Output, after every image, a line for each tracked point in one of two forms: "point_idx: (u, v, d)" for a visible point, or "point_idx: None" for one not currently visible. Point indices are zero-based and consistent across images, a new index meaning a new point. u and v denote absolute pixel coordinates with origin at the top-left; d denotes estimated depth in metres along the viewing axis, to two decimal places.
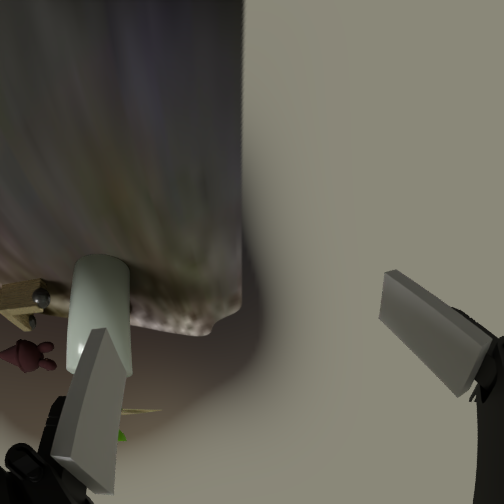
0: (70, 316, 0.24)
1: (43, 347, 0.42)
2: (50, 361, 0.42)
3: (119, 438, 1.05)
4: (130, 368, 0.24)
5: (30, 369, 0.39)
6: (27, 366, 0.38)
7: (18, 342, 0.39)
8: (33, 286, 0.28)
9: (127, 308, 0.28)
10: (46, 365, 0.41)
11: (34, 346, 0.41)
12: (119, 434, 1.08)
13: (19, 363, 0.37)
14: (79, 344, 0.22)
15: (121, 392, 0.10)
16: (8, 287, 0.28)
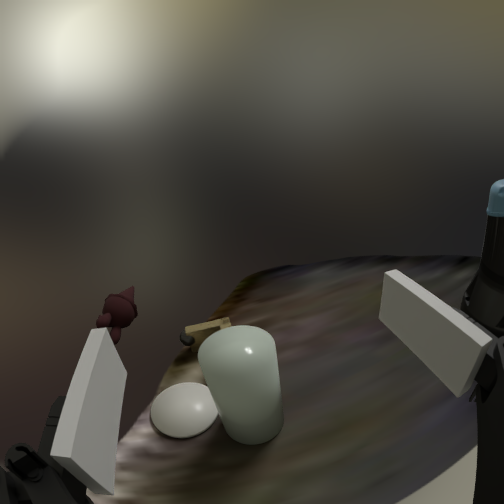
0: None
1: (118, 333, 0.46)
2: (106, 326, 0.44)
3: None
4: (243, 378, 0.22)
5: (112, 302, 0.47)
6: (117, 302, 0.47)
7: (135, 315, 0.51)
8: None
9: (256, 419, 0.24)
10: (107, 319, 0.44)
11: (123, 326, 0.48)
12: None
13: (125, 298, 0.49)
14: None
15: (121, 392, 0.10)
16: None
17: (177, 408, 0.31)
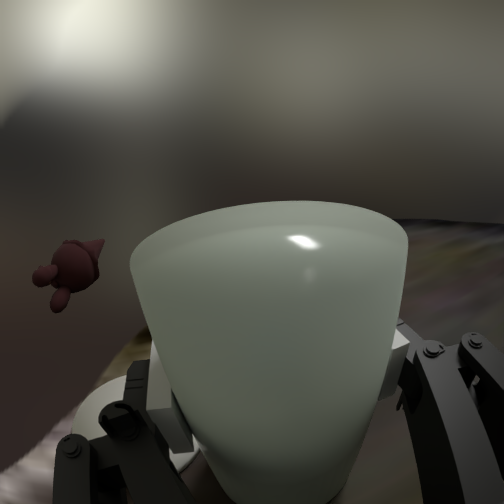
0: None
1: (64, 296, 0.28)
2: (45, 282, 0.26)
3: None
4: (318, 309, 0.04)
5: (63, 249, 0.29)
6: (70, 250, 0.30)
7: (96, 276, 0.33)
8: None
9: (313, 475, 0.07)
10: (48, 271, 0.26)
11: (74, 288, 0.30)
12: None
13: (83, 247, 0.31)
14: None
15: None
16: None
17: None
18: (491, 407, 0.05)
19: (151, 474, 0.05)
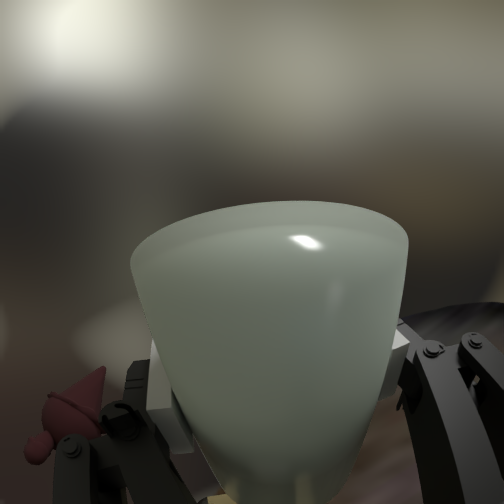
0: None
1: None
2: (42, 461, 0.14)
3: None
4: (319, 308, 0.04)
5: (53, 413, 0.17)
6: (62, 417, 0.18)
7: (103, 433, 0.21)
8: None
9: (314, 475, 0.07)
10: (42, 450, 0.14)
11: None
12: None
13: (78, 408, 0.19)
14: None
15: None
16: None
17: None
18: (491, 407, 0.05)
19: (151, 474, 0.05)
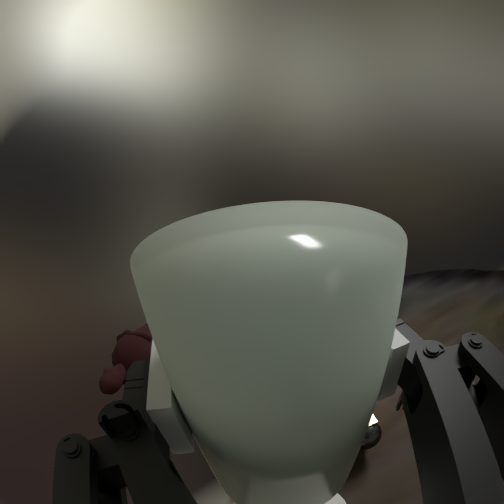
0: None
1: None
2: (116, 390, 0.24)
3: None
4: (318, 308, 0.04)
5: (129, 346, 0.27)
6: (138, 348, 0.27)
7: None
8: None
9: (313, 475, 0.07)
10: (118, 378, 0.24)
11: None
12: None
13: None
14: None
15: None
16: None
17: None
18: (491, 407, 0.05)
19: (151, 474, 0.05)
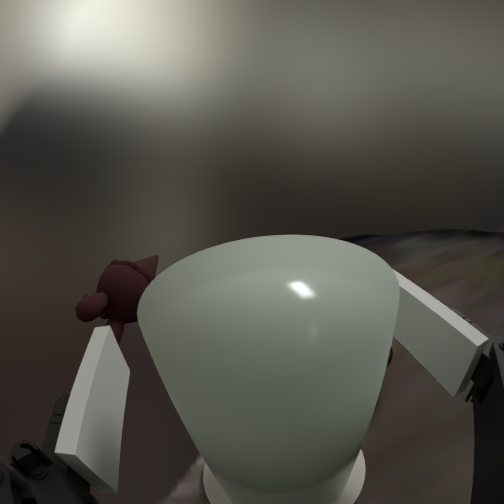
0: None
1: (117, 331, 0.25)
2: (93, 316, 0.22)
3: None
4: (310, 377, 0.05)
5: (114, 273, 0.26)
6: (123, 275, 0.26)
7: None
8: None
9: (310, 490, 0.07)
10: (97, 303, 0.23)
11: (129, 319, 0.26)
12: None
13: (139, 270, 0.27)
14: None
15: (124, 390, 0.10)
16: None
17: None
18: None
19: None
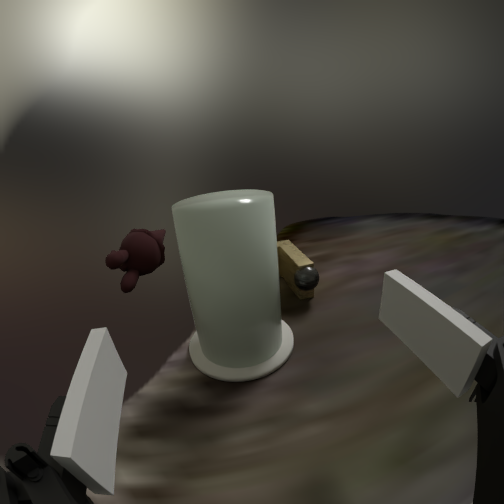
0: None
1: (134, 278, 0.36)
2: (118, 265, 0.34)
3: None
4: (227, 213, 0.17)
5: (133, 237, 0.37)
6: (140, 238, 0.37)
7: (161, 261, 0.41)
8: None
9: (243, 309, 0.19)
10: (121, 255, 0.34)
11: (142, 271, 0.38)
12: None
13: (151, 235, 0.39)
14: None
15: (121, 392, 0.10)
16: None
17: None
18: None
19: None
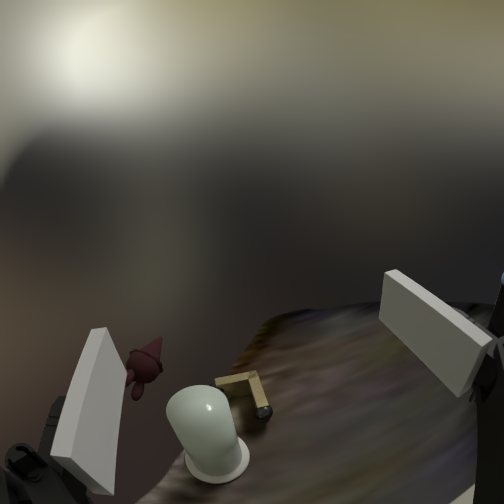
0: None
1: (141, 390, 0.43)
2: (128, 385, 0.41)
3: None
4: (199, 432, 0.25)
5: (137, 359, 0.45)
6: (142, 360, 0.45)
7: (160, 371, 0.48)
8: None
9: (213, 459, 0.27)
10: (129, 378, 0.42)
11: (146, 382, 0.45)
12: None
13: (151, 356, 0.46)
14: None
15: (121, 392, 0.10)
16: None
17: None
18: None
19: None
